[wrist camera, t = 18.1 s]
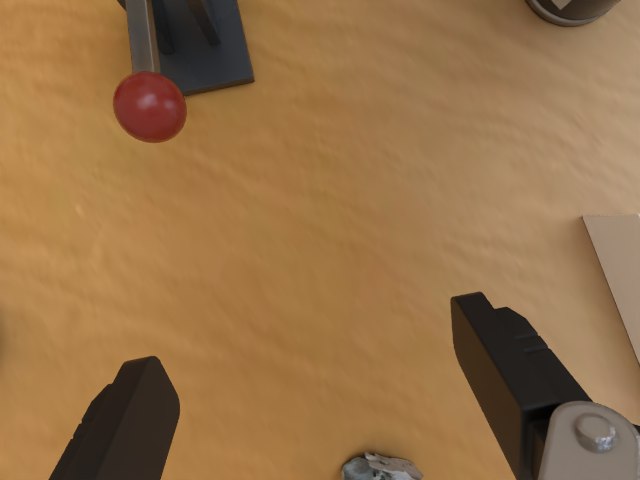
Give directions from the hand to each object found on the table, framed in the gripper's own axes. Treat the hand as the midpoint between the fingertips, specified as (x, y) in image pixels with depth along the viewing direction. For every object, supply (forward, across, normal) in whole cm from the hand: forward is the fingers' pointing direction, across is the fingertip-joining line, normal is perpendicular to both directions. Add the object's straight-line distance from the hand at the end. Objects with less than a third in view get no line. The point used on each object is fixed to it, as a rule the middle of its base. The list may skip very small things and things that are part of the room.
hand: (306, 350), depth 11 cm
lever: (+18, +7, -9) cm, 21 cm away
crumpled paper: (+15, -1, +29) cm, 33 cm away
